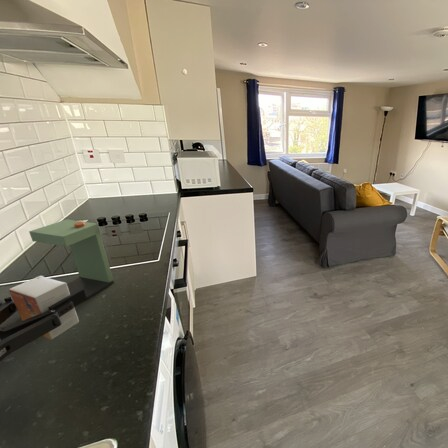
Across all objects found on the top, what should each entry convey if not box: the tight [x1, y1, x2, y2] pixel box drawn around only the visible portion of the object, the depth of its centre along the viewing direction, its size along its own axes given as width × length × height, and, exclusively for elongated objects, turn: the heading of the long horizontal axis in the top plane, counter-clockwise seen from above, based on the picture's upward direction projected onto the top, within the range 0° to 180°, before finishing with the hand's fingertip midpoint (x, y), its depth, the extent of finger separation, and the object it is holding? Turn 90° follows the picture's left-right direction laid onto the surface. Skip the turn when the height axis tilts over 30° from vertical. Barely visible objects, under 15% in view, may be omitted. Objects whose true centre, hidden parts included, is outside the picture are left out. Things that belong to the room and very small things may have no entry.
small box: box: [8, 275, 80, 341], centre depth 55 cm, size 8×6×10 cm
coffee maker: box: [28, 219, 115, 302], centre depth 79 cm, size 12×10×22 cm
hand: (68, 290), depth 59 cm, fingers closed on small box, 8 cm apart
